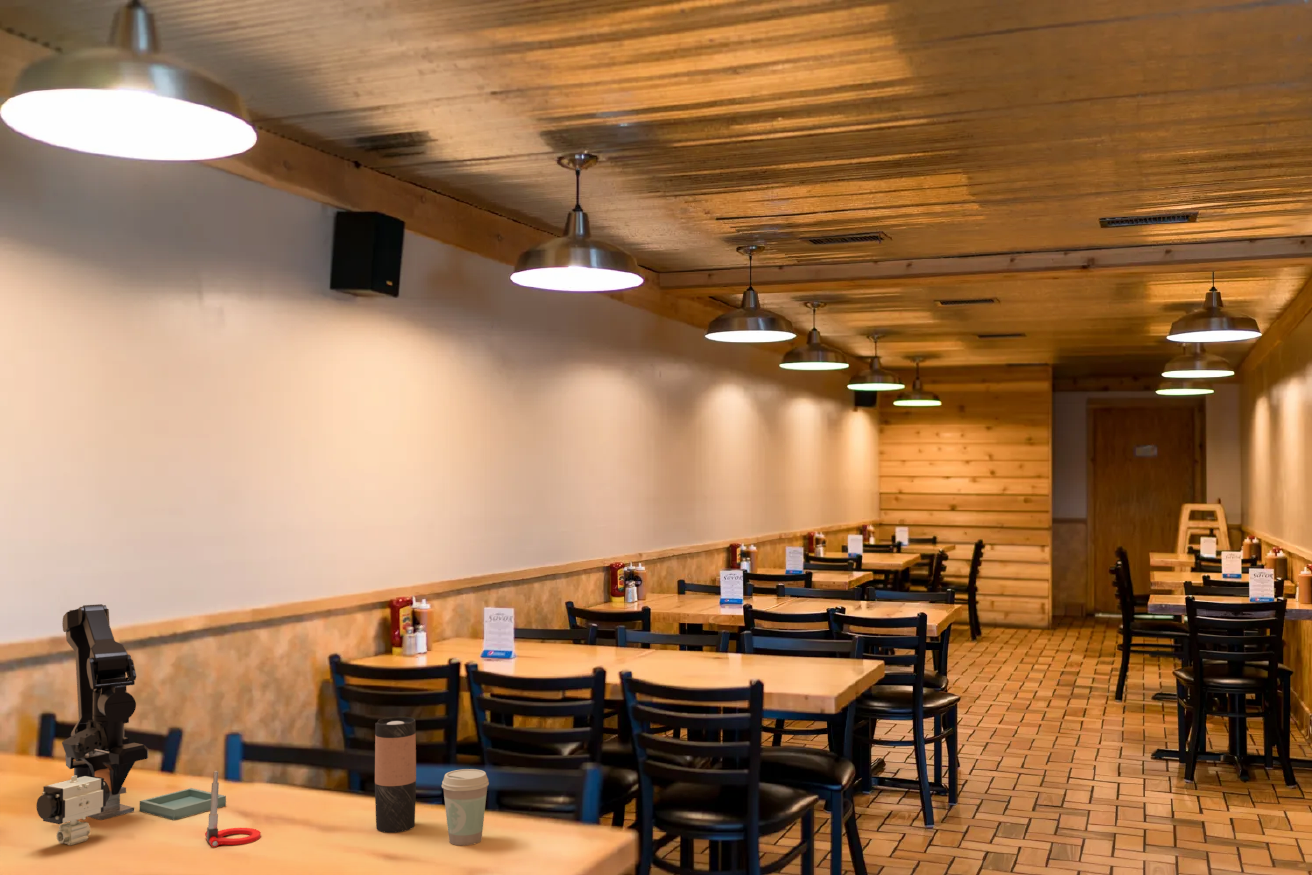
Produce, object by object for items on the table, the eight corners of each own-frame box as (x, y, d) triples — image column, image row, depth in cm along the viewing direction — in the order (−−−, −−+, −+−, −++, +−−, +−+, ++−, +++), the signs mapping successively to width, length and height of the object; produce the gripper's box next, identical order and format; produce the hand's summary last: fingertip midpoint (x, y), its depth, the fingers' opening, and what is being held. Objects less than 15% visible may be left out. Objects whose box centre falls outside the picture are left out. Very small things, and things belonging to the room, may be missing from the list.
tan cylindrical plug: (89, 794, 228) (89, 771, 228) (112, 789, 232) (112, 766, 232) (103, 798, 225) (103, 775, 225) (126, 792, 229) (126, 769, 229)
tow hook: (255, 831, 217) (203, 837, 212) (259, 762, 218) (207, 766, 213) (264, 843, 210) (211, 849, 205) (268, 772, 210) (215, 776, 206)
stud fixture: (80, 814, 227) (81, 795, 228) (114, 806, 233) (114, 787, 233) (100, 820, 223) (100, 800, 224) (134, 811, 229) (134, 792, 229)
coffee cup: (436, 837, 211) (436, 771, 211) (482, 831, 214) (482, 766, 215) (447, 850, 203) (447, 782, 204) (494, 844, 206) (494, 776, 207)
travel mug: (424, 826, 217) (424, 720, 218) (389, 835, 212) (389, 726, 213) (400, 818, 223) (400, 714, 223) (366, 827, 217) (366, 721, 218)
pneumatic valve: (35, 849, 206) (35, 781, 206) (93, 831, 216) (94, 767, 216) (54, 853, 203) (55, 785, 204) (113, 835, 213) (113, 770, 214)
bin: (139, 811, 230) (139, 800, 230) (191, 797, 239) (191, 787, 239) (174, 819, 223) (174, 809, 223) (225, 805, 233) (225, 795, 233)
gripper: (43, 715, 228) (42, 795, 227) (96, 726, 217) (95, 809, 217) (97, 706, 237) (96, 782, 236) (150, 715, 227) (149, 795, 226)
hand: (107, 792), depth 229 cm, fingers closed on tan cylindrical plug, 5 cm apart
